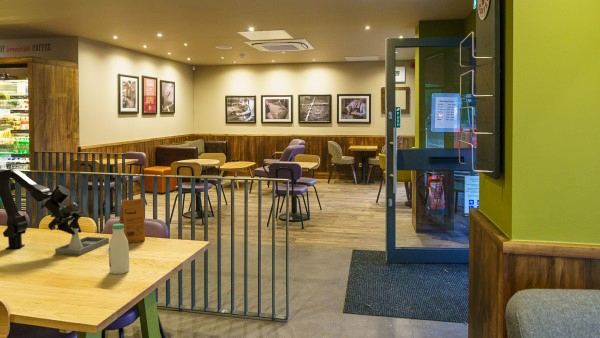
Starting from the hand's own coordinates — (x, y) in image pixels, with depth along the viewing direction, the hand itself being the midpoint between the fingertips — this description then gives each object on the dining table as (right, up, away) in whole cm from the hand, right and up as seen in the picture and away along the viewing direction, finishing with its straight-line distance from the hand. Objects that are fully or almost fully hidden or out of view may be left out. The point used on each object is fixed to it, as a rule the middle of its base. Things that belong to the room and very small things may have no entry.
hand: (77, 233), depth 229 cm
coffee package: (+19, -7, +22) cm, 29 cm away
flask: (-1, -8, +1) cm, 8 cm away
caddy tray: (0, -8, +7) cm, 11 cm away
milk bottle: (+31, -12, -29) cm, 44 cm away
